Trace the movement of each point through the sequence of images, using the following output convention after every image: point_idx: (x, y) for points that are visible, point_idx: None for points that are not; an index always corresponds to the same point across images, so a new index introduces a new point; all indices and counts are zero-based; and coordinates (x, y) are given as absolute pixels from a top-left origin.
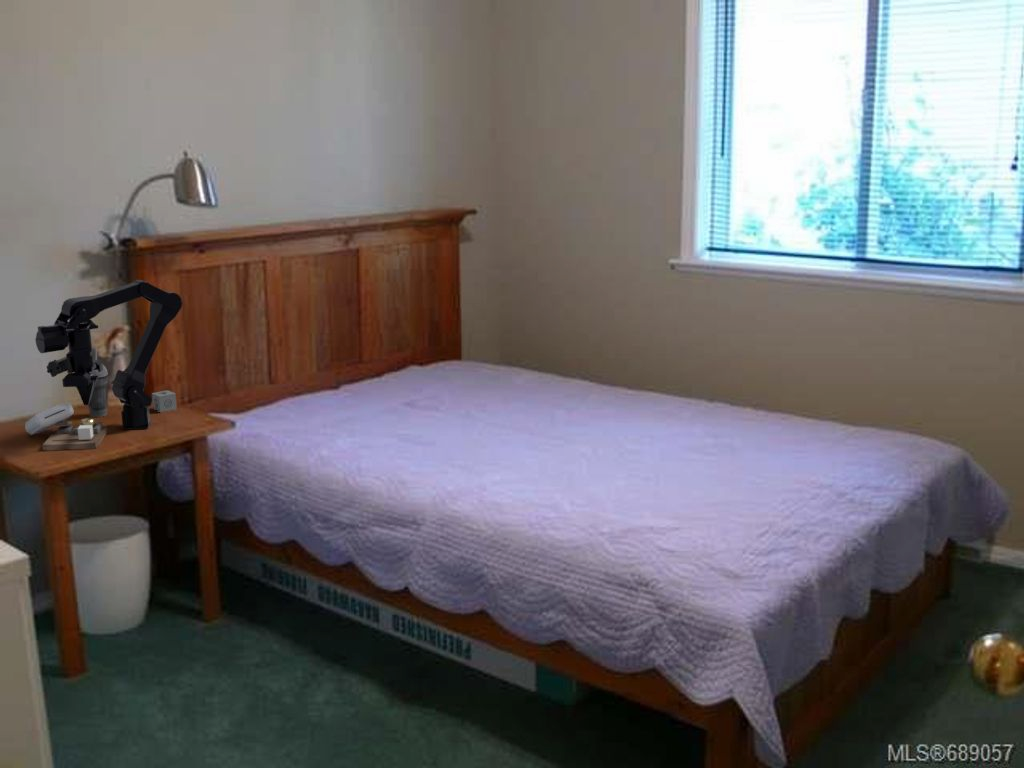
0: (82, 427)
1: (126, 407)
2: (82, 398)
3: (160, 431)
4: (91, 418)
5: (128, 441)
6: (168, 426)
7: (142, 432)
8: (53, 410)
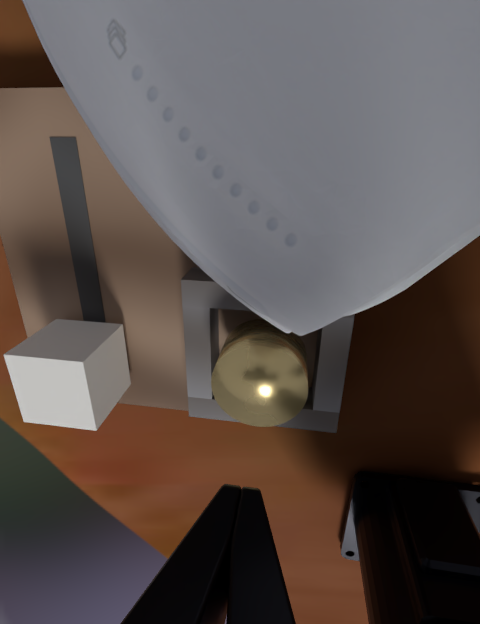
0: (32, 381)
1: (408, 621)
2: (167, 569)
3: (291, 577)
4: (285, 410)
5: (162, 484)
6: (361, 602)
7: (292, 529)
8: (89, 108)
